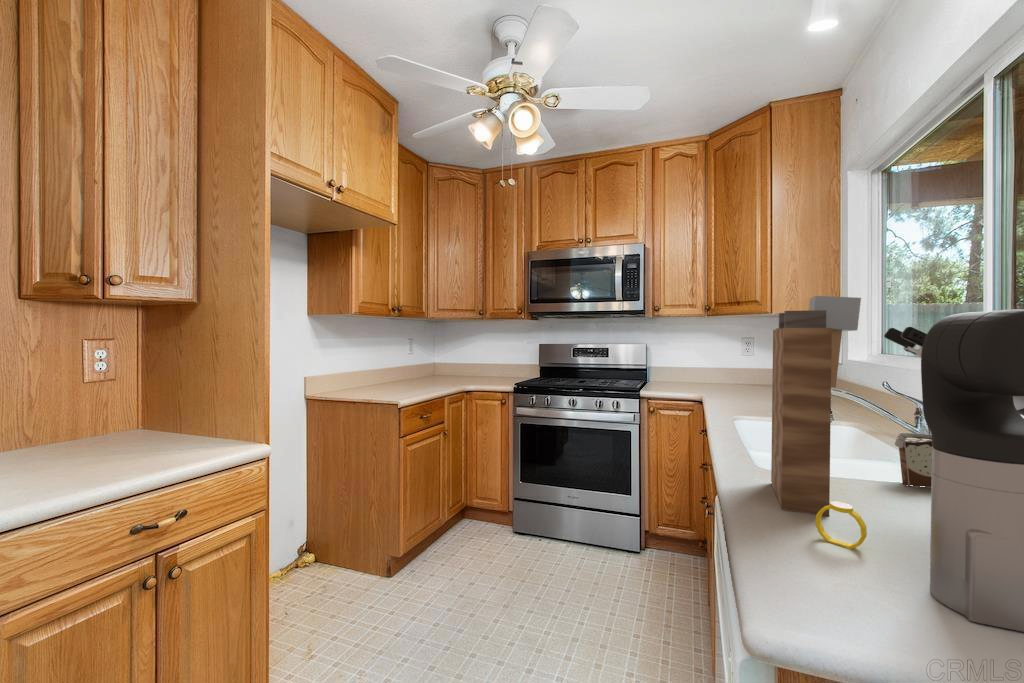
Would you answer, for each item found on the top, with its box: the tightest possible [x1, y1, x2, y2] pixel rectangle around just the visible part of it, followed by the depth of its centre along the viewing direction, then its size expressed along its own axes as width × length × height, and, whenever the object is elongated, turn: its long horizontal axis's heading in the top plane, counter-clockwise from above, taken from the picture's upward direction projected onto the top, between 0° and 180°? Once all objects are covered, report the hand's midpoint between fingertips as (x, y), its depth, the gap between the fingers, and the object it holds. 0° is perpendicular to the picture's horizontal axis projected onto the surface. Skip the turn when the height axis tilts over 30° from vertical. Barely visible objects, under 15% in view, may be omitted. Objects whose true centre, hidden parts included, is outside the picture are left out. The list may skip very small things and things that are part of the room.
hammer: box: [808, 295, 862, 388], centre depth 87 cm, size 6×17×7 cm
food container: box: [894, 432, 932, 488], centre depth 95 cm, size 12×6×10 cm, turn 84°
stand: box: [770, 309, 832, 517], centre depth 85 cm, size 16×7×35 cm, turn 156°
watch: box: [815, 500, 868, 550], centre depth 66 cm, size 6×3×6 cm, turn 38°
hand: (895, 331), depth 84 cm, fingers open, 8 cm apart
